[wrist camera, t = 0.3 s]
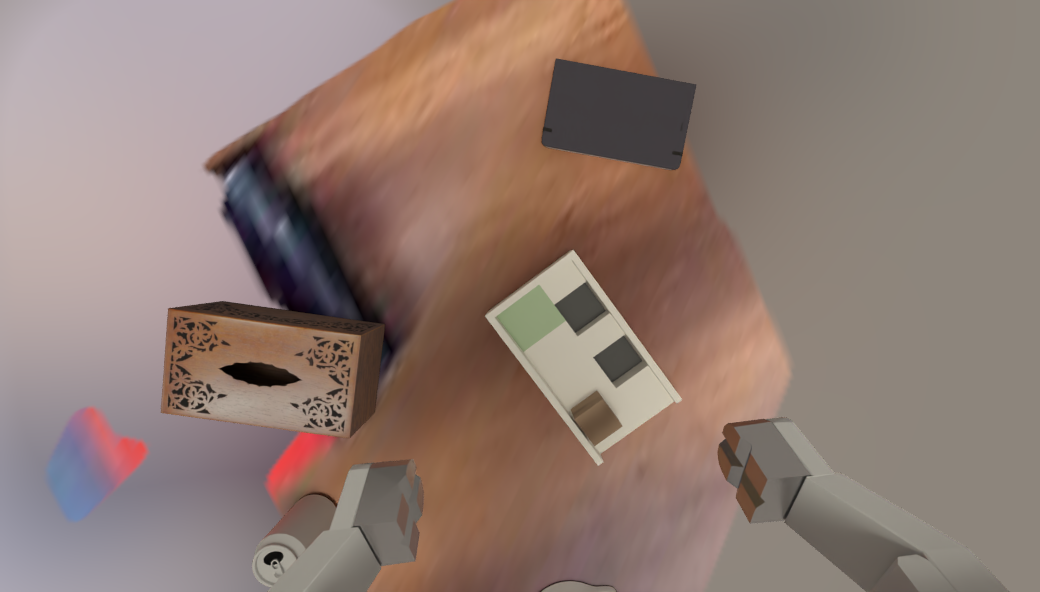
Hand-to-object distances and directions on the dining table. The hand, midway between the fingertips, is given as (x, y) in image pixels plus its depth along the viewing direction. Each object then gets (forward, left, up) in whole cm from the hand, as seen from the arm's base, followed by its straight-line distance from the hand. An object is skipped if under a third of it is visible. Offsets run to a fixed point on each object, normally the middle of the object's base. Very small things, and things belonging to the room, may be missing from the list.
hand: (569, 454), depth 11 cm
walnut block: (-20, +3, -50) cm, 54 cm away
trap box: (-12, -1, -53) cm, 54 cm away
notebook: (+14, -27, -54) cm, 62 cm away
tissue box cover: (+14, +35, -54) cm, 65 cm away
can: (-8, +49, -53) cm, 73 cm away
